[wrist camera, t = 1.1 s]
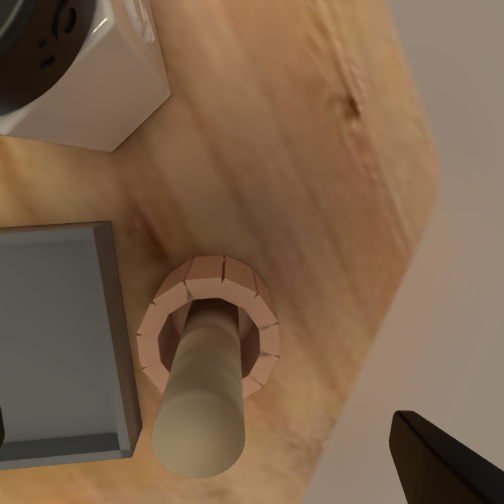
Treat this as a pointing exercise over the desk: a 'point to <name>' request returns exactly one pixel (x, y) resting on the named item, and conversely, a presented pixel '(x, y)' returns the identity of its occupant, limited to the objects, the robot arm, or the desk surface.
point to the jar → (79, 70)
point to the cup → (202, 287)
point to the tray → (64, 348)
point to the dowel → (203, 395)
